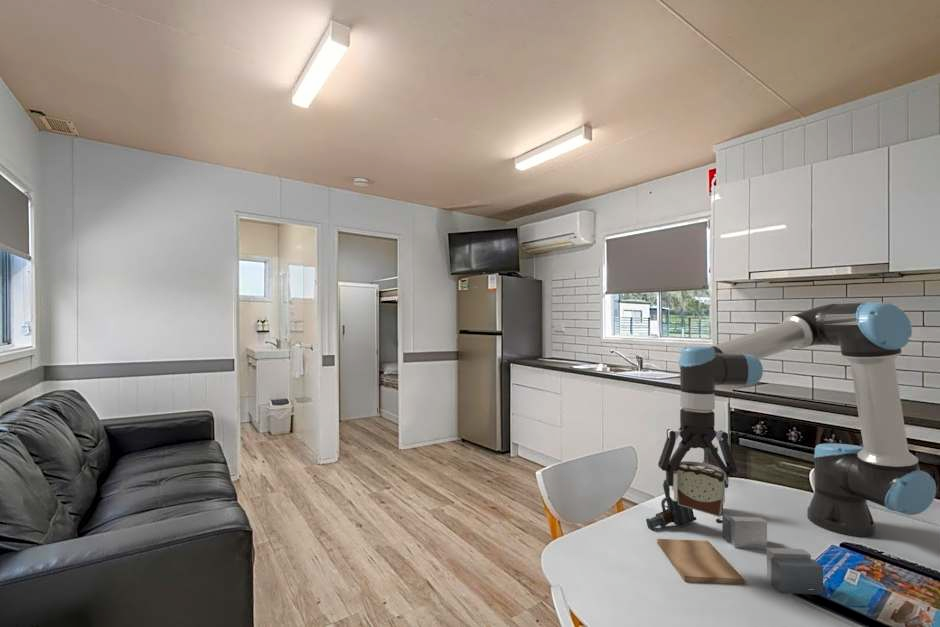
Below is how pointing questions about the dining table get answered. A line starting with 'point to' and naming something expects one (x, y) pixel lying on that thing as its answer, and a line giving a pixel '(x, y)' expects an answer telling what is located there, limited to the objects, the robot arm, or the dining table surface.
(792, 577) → the grey blocks
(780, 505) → the dining table surface
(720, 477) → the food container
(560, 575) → the dining table surface
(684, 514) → the gun
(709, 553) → the light brown board
